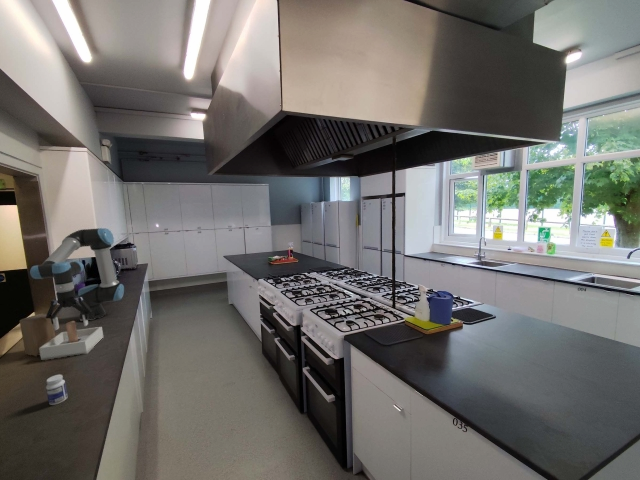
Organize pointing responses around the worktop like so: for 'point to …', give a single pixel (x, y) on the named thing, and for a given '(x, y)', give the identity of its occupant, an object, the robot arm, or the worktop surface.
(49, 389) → the pill bottle
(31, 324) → the wooden block
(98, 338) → the tub
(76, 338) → the peg
